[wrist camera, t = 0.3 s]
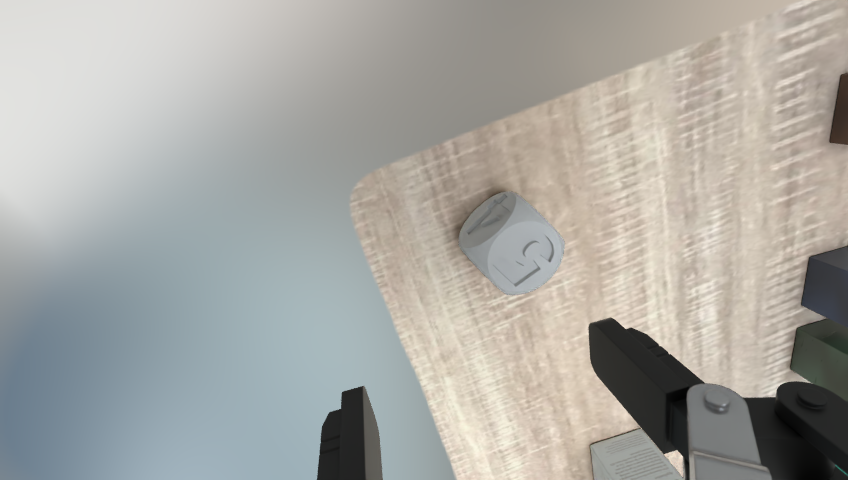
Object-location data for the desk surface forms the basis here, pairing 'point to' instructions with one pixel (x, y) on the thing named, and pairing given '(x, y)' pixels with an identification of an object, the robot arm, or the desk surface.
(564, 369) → the desk surface
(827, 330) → the row of mixed cubes
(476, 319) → the desk surface
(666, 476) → the small box
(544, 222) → the die
